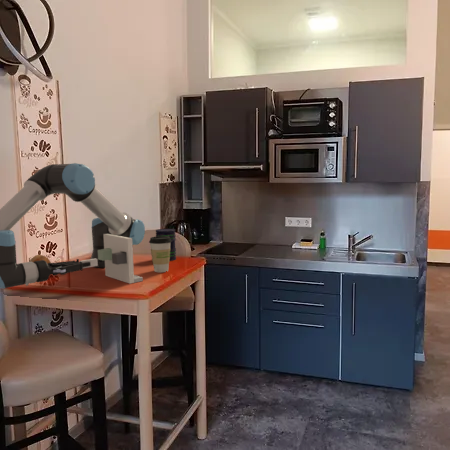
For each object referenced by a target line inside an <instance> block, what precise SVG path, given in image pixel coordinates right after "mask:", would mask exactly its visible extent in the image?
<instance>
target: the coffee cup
mask: <svg viewBox="0 0 450 450" xmlns="http://www.w3.org/2000/svg"><path fill="white" fill-rule="evenodd" d="M148 243H149V245H150V246H149V247H150V254H151V260H152V264H153V271H154V272H155V273H166V271H167V272H169V269H170V267H169V266H170V265H169V264H170V261H169V260H170V243H171V240H170V237H168V236H157V237H156V236H151V237H150V239H149V241H148Z"/></svg>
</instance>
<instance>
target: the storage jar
mask: <svg viewBox="0 0 450 450" xmlns="http://www.w3.org/2000/svg"><path fill="white" fill-rule="evenodd" d="M157 236H168V237H170V240H171V243H170V260H169V262H172V261H176V260H177V248H176V228H158V229H155V237H157Z"/></svg>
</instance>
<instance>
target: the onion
mask: <svg viewBox="0 0 450 450" xmlns="http://www.w3.org/2000/svg"><path fill="white" fill-rule="evenodd" d="M40 260H45V261H46V262H47V264H48V263H52V262H51V260H50V259H49V258H48V257H47V256H45V255H42V254H36V255H34V256H32V258H30V259H29V261H28V262H34V261H40Z"/></svg>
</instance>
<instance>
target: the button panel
mask: <svg viewBox="0 0 450 450" xmlns="http://www.w3.org/2000/svg"><path fill="white" fill-rule="evenodd" d="M103 236H104V249H108V248H111V249H112V253H118V252H126V253H127V263H124V264H119V265H117V264H113V263H112V259H110V260H105V267H104V271H105V275H104V276H106V277H108V278H111V279H115V280H117V281H121V282H124V283H127V284H134V283H140V282H144V281H143V280H144V278H143V276H139V275H136V274H135V271H134V270H135V268H134V250H133V247H134V245H133V244H132V238H128V237H123V236H117V235H112V234H103Z"/></svg>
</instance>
